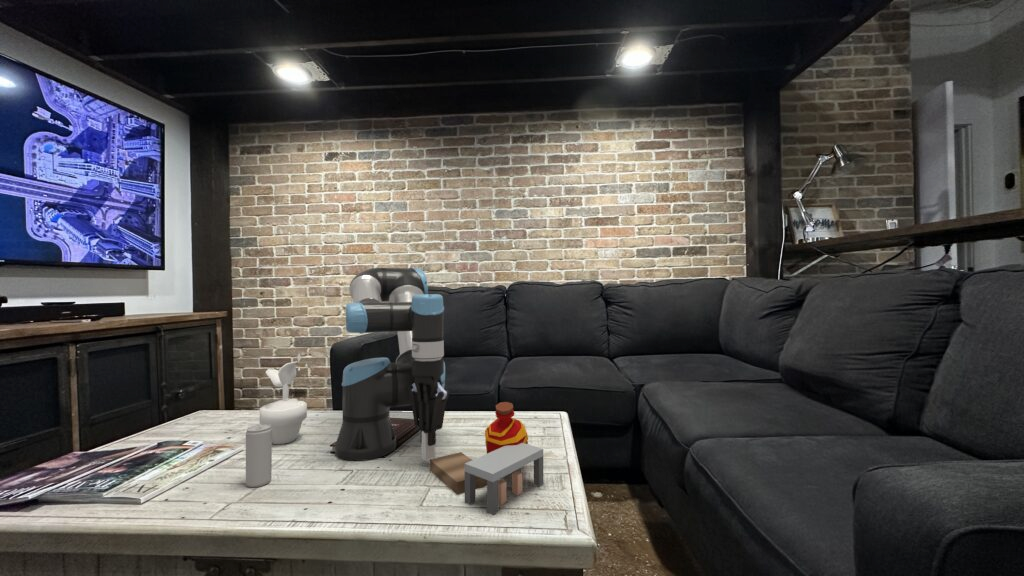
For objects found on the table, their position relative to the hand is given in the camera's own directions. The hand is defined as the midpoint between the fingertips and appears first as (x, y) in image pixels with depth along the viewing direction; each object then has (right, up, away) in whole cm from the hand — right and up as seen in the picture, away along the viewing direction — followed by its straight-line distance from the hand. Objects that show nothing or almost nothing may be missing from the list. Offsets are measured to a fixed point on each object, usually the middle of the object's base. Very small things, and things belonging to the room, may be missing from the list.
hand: (428, 457), depth 99 cm
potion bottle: (+19, -1, -2) cm, 19 cm away
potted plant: (-44, -2, +17) cm, 48 cm away
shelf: (+19, -1, -14) cm, 23 cm away
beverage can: (-35, -2, -9) cm, 36 cm away
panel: (+8, -2, -7) cm, 11 cm away
